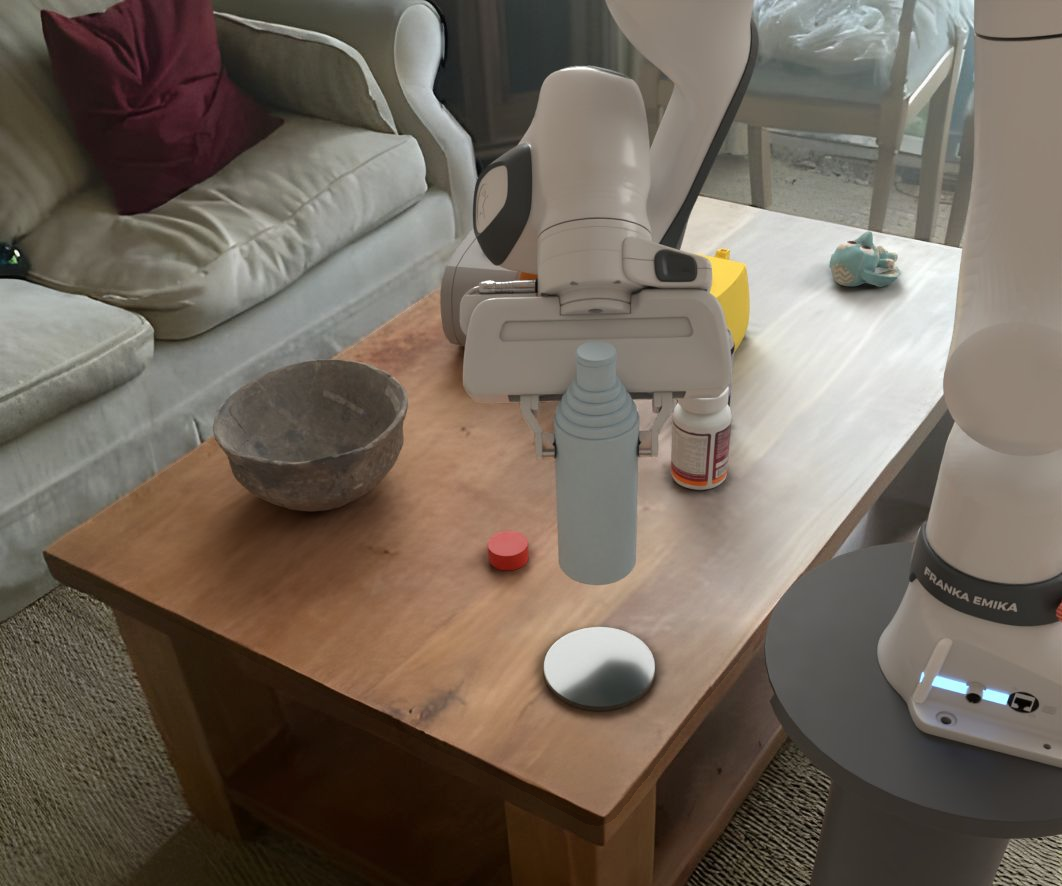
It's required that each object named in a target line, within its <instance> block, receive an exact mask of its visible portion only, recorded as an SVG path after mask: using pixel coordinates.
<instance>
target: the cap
mask: <svg viewBox="0 0 1062 886" xmlns="http://www.w3.org/2000/svg"><path fill="white" fill-rule="evenodd" d="M487 554H488V555H487V556H488V562H489V564H490V565H491V566H492V567H493V568H495V569H497V570H501V571H514V570H515V571H516V570H518V569H521V568H522V567H524V566H526V564H527V563H528V561H529V559H530V554H529V541H528V538H527V537H526V536H525V535H524V534H523V533H521V532H519V531H515V530H504V531H499V532H496V533H495V534H493V535H492V536H491V537H489V539H488V541H487Z"/></svg>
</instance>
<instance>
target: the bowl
mask: <svg viewBox="0 0 1062 886" xmlns="http://www.w3.org/2000/svg"><path fill="white" fill-rule="evenodd" d="M408 408H409V400H408V393H407V391H406V389H405V387H404V386H403V385H402V383H401V382H399V380H397V378H396V377H395V376H393V375H392V374H391V373H390V372H388V371H387V370H383V369H380V368H379V367H376V366H374V365H372V364H370V363H366V362H360V361H356V360H355V361H354V360H346V359H337V358H336V359H332V358H331V359H330V358H329V359H316V358H315V359H309V360H304V361H301V362H296V363H292V364H289V365H285V366H282V367H279V368H276V369H275V370H271V371H268V372H267V373H265V374H261V375H260V376H257V377H255V380H254V379H251V380H250V381H248V382H247V383H245V385H243V386H241V387H240V388H238V389H237V390H236V391H235V392H233V393H232V394H231V395H230V396H229V397H227V398H226V399H225V400H224V401H223V402H222V403H221V404H220V405H219V407H218V408H217V409H216V412H215V415H214V418H213V423H212V424H213V425H212V432H213V436H214V440H215V441H216V443H217V444H218V447H220V449H221V450H222V451H223V453H224V455H226V456H227V460H228V462H229V467H230V469H231V472H232V475H233V477H234V478H235V480H236V481H237V482H238V483H239V484H240V485H241V486H242V487H243V488H244V489H245V490H247V491H248V492H249V493H251V494H253V495H254V496H256V497H258V498H259V499H261V500H263V501H264V502H268V503H270V504H272V505H274V506H277V507H281V508H284V509H288V510H291V511H302V512H322V511H323V512H324V511H329V510H335V509H338V508H341V507H344V506H345V505H347V504H350V503H353V502H354V501H356V500H357V499H360V498H361V497H363V496H364V495H366V494H367V493H369V492H370V491H371V490H372V489H373V488H374V487H375V486H376V485H378V484H379V483H381V481H382V480H383V479H384V478H385V477H386V476H387V475H388V474H389V473H390V471H391V470H392V469H393V467H394V466H395V464H396V463H397V460H398V458H399V456H400V453H401V451H402V449H403V446H404V441H405V440H404V439H405V437H404V421H405V419H406V415H407V413H408Z"/></svg>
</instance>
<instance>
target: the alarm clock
mask: <svg viewBox="0 0 1062 886" xmlns="http://www.w3.org/2000/svg"><path fill="white" fill-rule="evenodd" d="M520 273H521V272H518V271H512V270H508V269H505V268H503V267H500V266H495V265H494V264H493V263H492V262H491V261H490V260H489V259H488V258H487V257H486V256H485V254H484V253H483V251H482V249H481V247H480V245H479V243H478V241H477V239H476V236H475V234H474V229H473V228H471V229H470V230H469V232H468V234H467V235H466V236H465V238H464V239H463V241H462V242H461V243H460V244H459V246H458V247H457V248H456V249H455V250H454V252H453V253H452V254H451V256H450V258H449V260H448V261H447V262H446V265H445V266H444V269H443V273H442V277H441V284H440V290H439V291H440V294H439V295H440V297H439V299H440V301H439V303H440V304H439V305H440V317H441V318H440V319H441V324H442V325H441V326H442V329H443V332H444V336H445V338H446V340H447V341H448V342H449V343H450V344H452V345H457V346H463V348H465V344H466V336H465V335H464V333H463V332H462V330H461V327H460V302H461V299H462V297H463V296H464V294H465V293H466V292H467V291H468V290H470V289H472V288H474V287H477V286H479V283H480V282H483V281H496V282H506V281H513V280H519V277H520ZM472 295H480V294H479V292H476V293H474V294H472Z"/></svg>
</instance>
